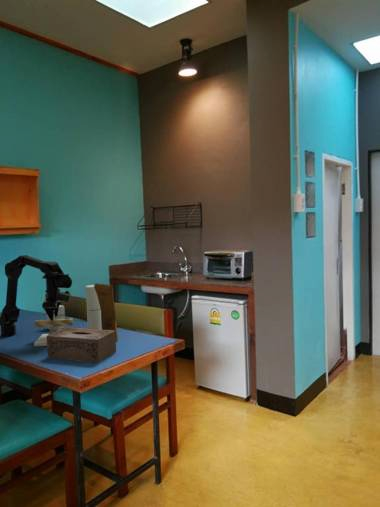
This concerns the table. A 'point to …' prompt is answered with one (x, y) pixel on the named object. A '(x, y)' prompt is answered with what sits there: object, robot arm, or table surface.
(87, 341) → the tissue box cover
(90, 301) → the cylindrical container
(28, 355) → the table surface
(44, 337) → the fulcrum stand
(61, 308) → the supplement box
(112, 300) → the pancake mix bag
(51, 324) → the oak bar
